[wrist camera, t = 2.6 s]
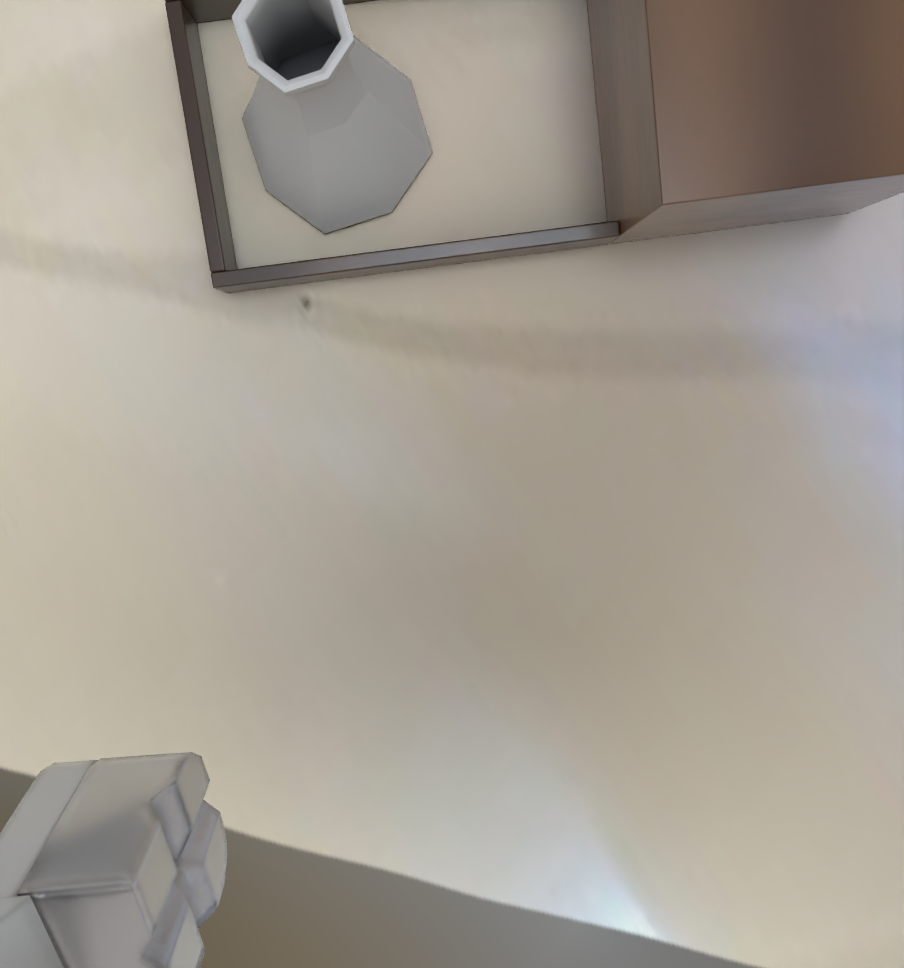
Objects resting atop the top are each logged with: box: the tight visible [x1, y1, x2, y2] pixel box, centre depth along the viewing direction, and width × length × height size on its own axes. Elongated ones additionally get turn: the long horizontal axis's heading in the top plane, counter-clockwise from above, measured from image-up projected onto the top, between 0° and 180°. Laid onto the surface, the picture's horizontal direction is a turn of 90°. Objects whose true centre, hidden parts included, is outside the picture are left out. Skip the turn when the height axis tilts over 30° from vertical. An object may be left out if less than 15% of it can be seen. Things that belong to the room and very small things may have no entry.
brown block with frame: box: [165, 0, 904, 293], centre depth 27 cm, size 26×11×9 cm, turn 97°
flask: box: [232, 0, 432, 234], centre depth 26 cm, size 7×7×10 cm
